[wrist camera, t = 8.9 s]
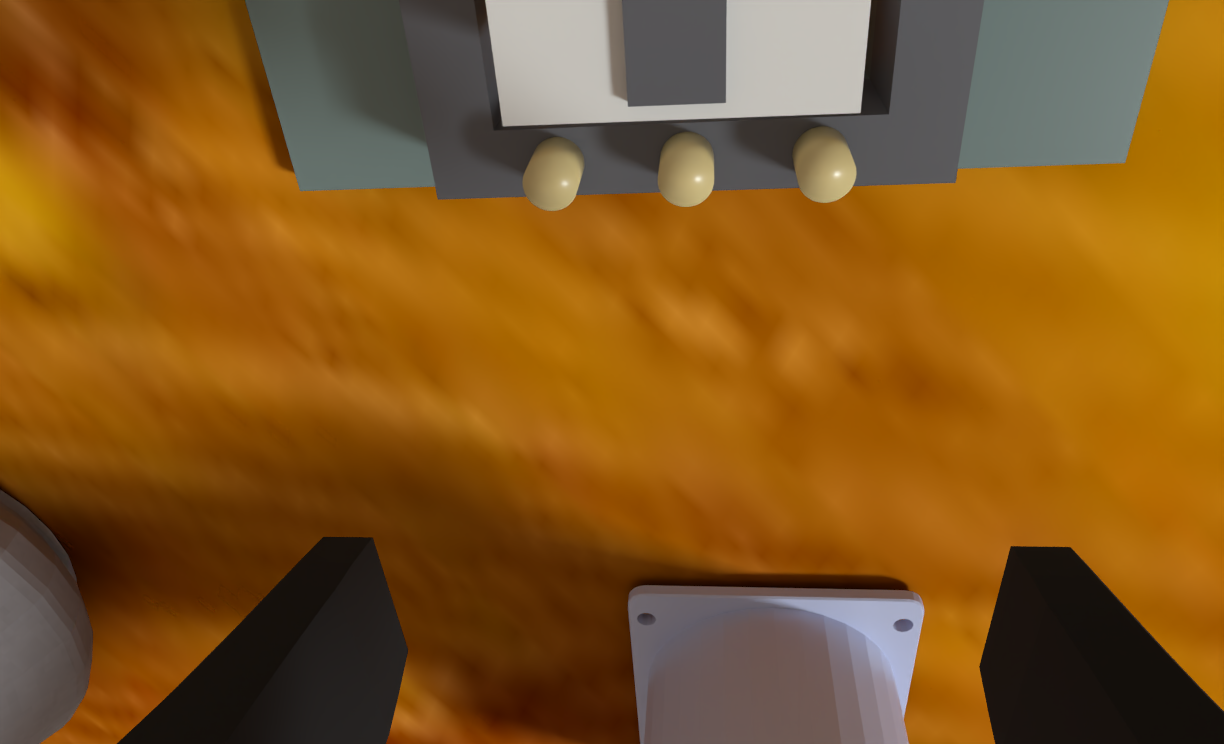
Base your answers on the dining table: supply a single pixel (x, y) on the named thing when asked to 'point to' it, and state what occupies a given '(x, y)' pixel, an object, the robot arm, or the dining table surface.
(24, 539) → the coffee pot
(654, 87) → the plug
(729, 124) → the header socket
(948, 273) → the dining table surface
